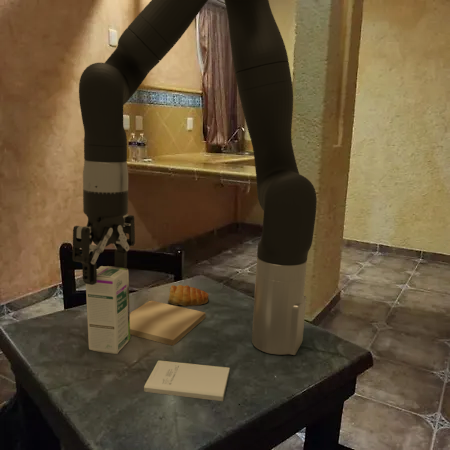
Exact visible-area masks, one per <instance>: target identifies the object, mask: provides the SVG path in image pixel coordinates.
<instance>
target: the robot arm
mask: <svg viewBox="0 0 450 450" xmlns="http://www.w3.org/2000/svg"><path fill="white" fill-rule="evenodd" d="M208 1H209V0H150V1H149V2H148V4H147V5H146V6H145V7H144V8H143V9H142V10H141V12H139V14H138V15H137V16H136V17H135V18H134V19H133V20H132V22H131V23H130V24H129V25H128V26H127V27H126V28H125V30H123V32H122V33H121V35H120V36H119V38H118V41H117V47H116V48H115V49H114V51H113V52H112V53H111V54H110V56H109V57H108V58H107V59H106V60H105V62H94V63H92V64H89V65H88V66H87V67H85V69H84V70H83V71H82V73H81V75H80V78H79V83H78V98H79V99H78V100H79V107H80V113H81V120H82V125H83V131H84V132H83V134H84V139H83V160H84V161H83V169H82V196H83V197H82V198H83V199H82V202H83V203H82V206H83V207H82V208H83V209H82V211H83V212H82V213H83V214H84V215H85V216H86V217H87V224H86V225H84V226H81V225H74V226H73V228H72V256H71V257H72V259H71V260H72V261H73V262H77V263H81V264H82V280H83V283H84V284H85V285H86V284H90V285H94V284H96V283H97V269H98V268H97V266H98V265H97V263H96V262H97V260H98V259H99V255H100V254H102V253H103V252H104V250H105V248H106V247H108V246H110V245H113V247H114V248H115V250H114V267H120V268H126V269H127V265H128V251H129V250H130V248H131V247H134V246H135V245H136V235H135V234H136V233H135V229H136V228H135V216H134V215H131V214H128V212H129V170H128V162H127V161H128V139H127V138H128V137H127V131H126V130H125V126H124V105H126V103H127V102H128V101H129V100H130V99H131V98H132V97H133V95H134V94H135V93H136V91H137V90H138V89H139V88H140V86H141V84H142V83H143V81H144V80H145V79H146V77H147V76H148V74H149V73H150V72H151V71H152V70H153V69H154V68H155V67H156V66H157V65H158V64H159V63H160V61H162V59H164V57H166V56H167V54H168V53H169V52H170V51H171V49H173V48H174V46H175V45H176V44H177V43H178V42H179V40H180V39H181V38H182V37H183V36H184V34H185V33H186V32H187V30H188V29H189V27H190V26H191V24H192V23H193V22H194V20H195V19H196V17H197V16H198V14H199V13H200V12H201V10H202V8H203V7H204V6H205V5H206V4H207V2H208ZM224 5H225V8H226V12H227V13H226V14H227V20H228V32H229V41H230V49H231V55H232V63H233V69H234V74H235V80H236V84H237V90H238V91H237V92H238V95H239V98H240V99H239V100H240V104H241V109H242V112H243V117H244V120H245V121H244V122H245V123H246V128H247V132H248V135H249V138H250V141H251V145H252V151H253V158H254V169H255V179H256V192H257V193H256V194H257V200H258V203H259V206H260V207H261V209H262V211H263V219H262V230H261V231H262V233H261V238H260V240H259V241H258V244H257V252H256V253H257V254H256V268H255V269H256V270H255V284H254V296H253V298H254V300H253V318H252V329H251V343H252V345H253V346H254V348H256V349H257V350H259V351H262V352H264V353H267V354H271V355H279V356H280V355H291V356H292V355H293V356H295V355H296V354H297V352H298V350H299V349H300V347H301V345H302V343H303V339H304V338H303V337H304V329H305V316H306V307H307V306H306V305H307V296H306V295H305V286H306V276H307V266H308V265H307V263H308V254H309V252H310V249H311V247H312V245H313V241H314V240H313V239H314V230H315V223H316V218H317V217H316V216H317V206H318V205H317V203H318V200H317V199H318V198H317V192H316V189H315V186H314V184H312V182H311V181H310V180H309V179H308V178H307V177H305V176H304V175H302V174H300V171H299V169H298V165H297V161H296V156H295V153H294V147H293V141H292V140H293V139H292V127H293V126H292V125H293V113H294V88H293V80H292V75H291V74H292V72H291V67H290V63H289V55H288V52H287V48H286V45H285V44H286V43H285V41H284V38H283V35H282V34H281V31H280V29H279V26H278V24H277V22H276V19H275V16H274V14H273V12H272V9H271V5H270V0H224ZM127 234H128V237H127ZM91 252H92V253H91ZM90 253H91V255H90Z"/></svg>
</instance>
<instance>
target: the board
mask: <svg viewBox="0 0 450 450" xmlns="http://www.w3.org/2000/svg"><path fill="white" fill-rule="evenodd" d="M206 316H207V315H206V312H204V311H199V310H196V309H190V308H186V307H184V306H178V305H173V304H170V303H169V304H168V303H164V302H159V301H156V300H155V301H154V300H149V301H147V302H145V303H144V304H141V306H139V307H137V308H135V309H134V310H132V311H131V312H130V336H133V337H134V336H135V337H138V338H142V339H145V340H149V341H154V342H157V343H161V344H165V345H168V346H175V345H177V343H178V342H179V341H181V340H182V339H183V338H184V337H185V336H187V335H188V334H189V333H190V332H191V331H192V330H193V329H195V328H196V327H197V326H198V325H199V324H201V322H203V320H205V319H206Z"/></svg>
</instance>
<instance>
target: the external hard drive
mask: <svg viewBox="0 0 450 450" xmlns="http://www.w3.org/2000/svg"><path fill="white" fill-rule="evenodd" d="M152 369H153V370H152V371H151V373H150V375H149V377H148V378H147V380H146V382H145V384H144V386H143V392H144V393H145V392H146V393H153V394H159V395H160V394H161V395H169V396H177V397H186V398H194V399H200V400H201V399H202V400H210V401H219V402H224V398H225V394H226V391H227V390H226V389H227V384H228V382H229V377H230V373H231V372H230V371H231V368H230V367H225V366H216V365H215V366H214V365H207V364H206V365H205V364H198V363H196V364H195V363H187V362H176V361H166V360H158V361H157V362H156V364H155V366H154V368H152Z"/></svg>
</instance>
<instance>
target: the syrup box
mask: <svg viewBox="0 0 450 450" xmlns="http://www.w3.org/2000/svg"><path fill="white" fill-rule="evenodd" d="M129 279H130V278H129V269H128V268H127V267H126V268H120V267H115V266H111V265H110V266H109V265H107V266H103V265H101V266H99V267H98V268H97V283H96V284H94V285H90V284H86V283H85V294H86V317H87V319H86V320H87V335H88V336H87V337H88V339H87V340H88V349H89V350H90V351H94V352H99V353H105V354H106V353H107V354H112V355H118V354H119V352H120V351H121V350H122V349H123V348H124V347H125V346H126V344H127V343H129V341H130V340H131V335H130V313H131V312H130V285H129V284H130V281H129Z"/></svg>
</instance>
